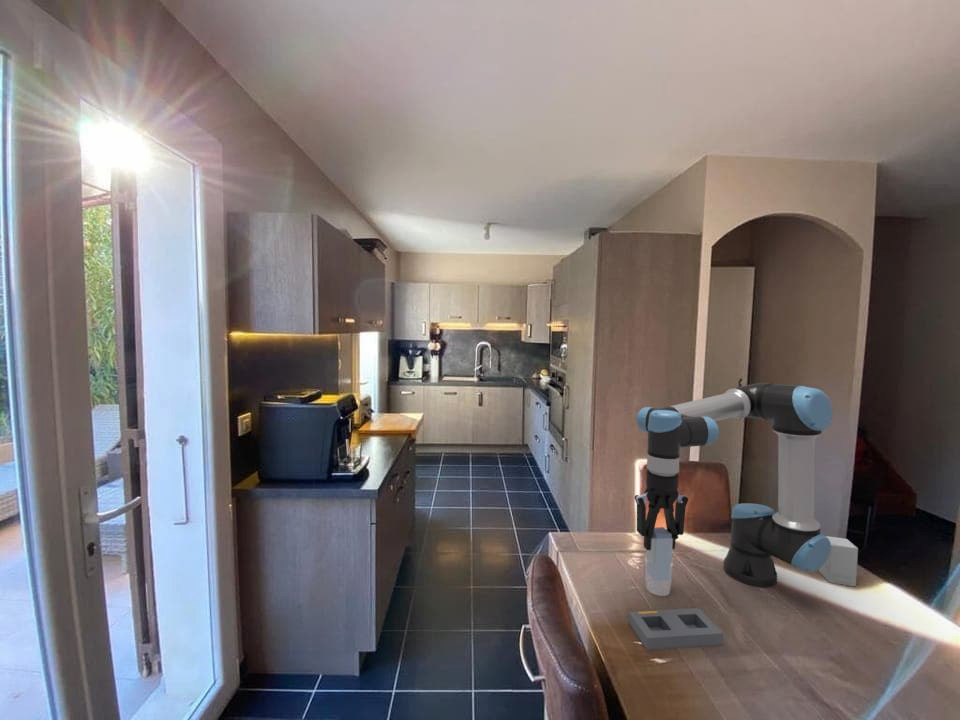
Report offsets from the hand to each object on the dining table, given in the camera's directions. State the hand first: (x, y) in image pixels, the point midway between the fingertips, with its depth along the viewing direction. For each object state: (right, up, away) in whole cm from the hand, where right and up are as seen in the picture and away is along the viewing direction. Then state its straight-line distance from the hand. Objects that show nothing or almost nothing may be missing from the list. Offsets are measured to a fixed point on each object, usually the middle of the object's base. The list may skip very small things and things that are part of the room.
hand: (658, 560), depth 109 cm
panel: (+5, -21, +2) cm, 21 cm away
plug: (0, -4, 0) cm, 4 cm away
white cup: (+9, -20, +21) cm, 30 cm away
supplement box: (+71, -20, +30) cm, 80 cm away
